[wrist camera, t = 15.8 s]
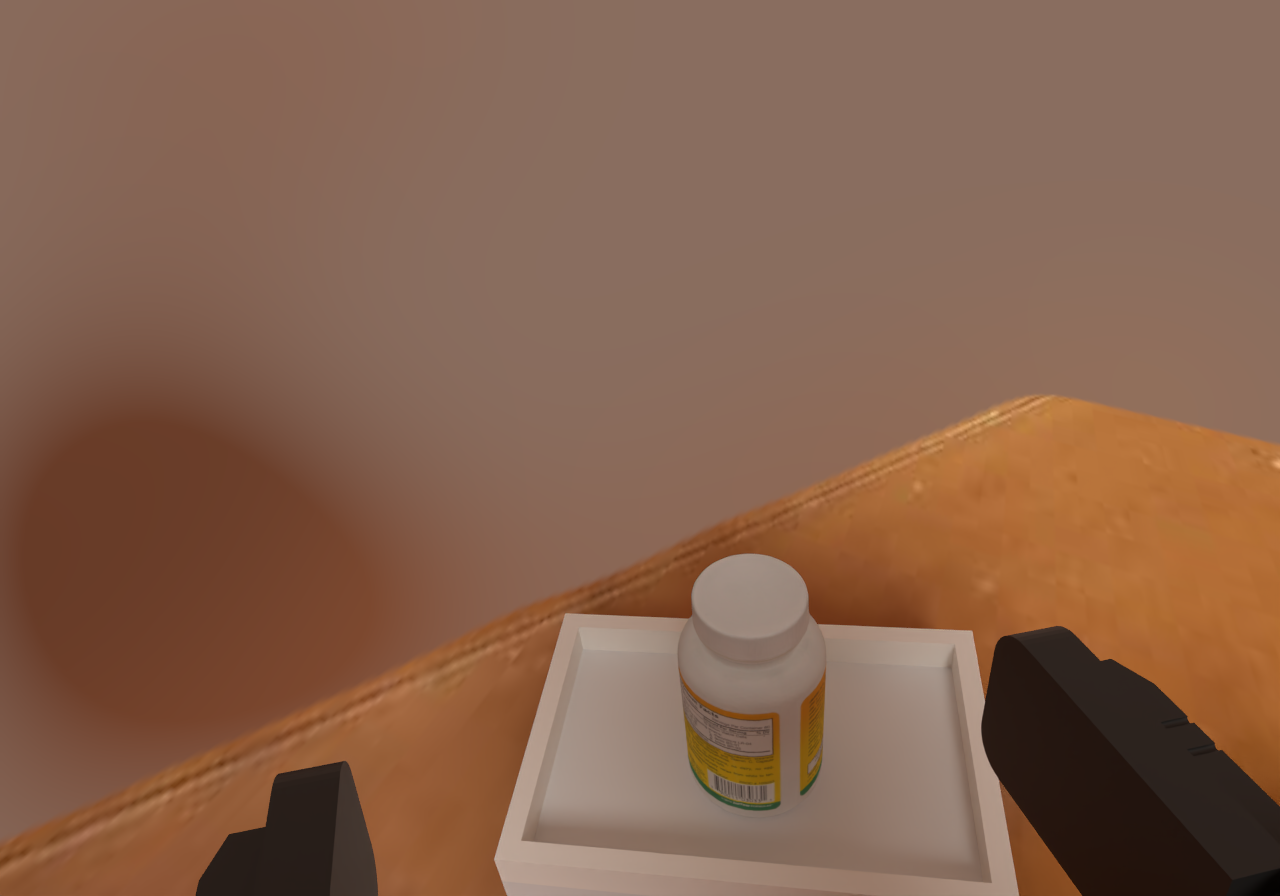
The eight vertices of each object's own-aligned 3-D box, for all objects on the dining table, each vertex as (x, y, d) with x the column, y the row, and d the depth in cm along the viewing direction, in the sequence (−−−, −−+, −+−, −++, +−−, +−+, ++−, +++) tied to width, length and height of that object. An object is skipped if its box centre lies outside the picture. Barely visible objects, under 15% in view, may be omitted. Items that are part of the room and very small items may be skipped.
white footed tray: (523, 939, 37) (494, 859, 33) (583, 696, 46) (565, 613, 43) (997, 992, 33) (1021, 909, 30) (957, 718, 43) (972, 630, 39)
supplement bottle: (727, 845, 34) (713, 678, 29) (667, 737, 38) (644, 572, 33) (850, 786, 36) (860, 615, 30) (780, 687, 40) (776, 521, 34)
